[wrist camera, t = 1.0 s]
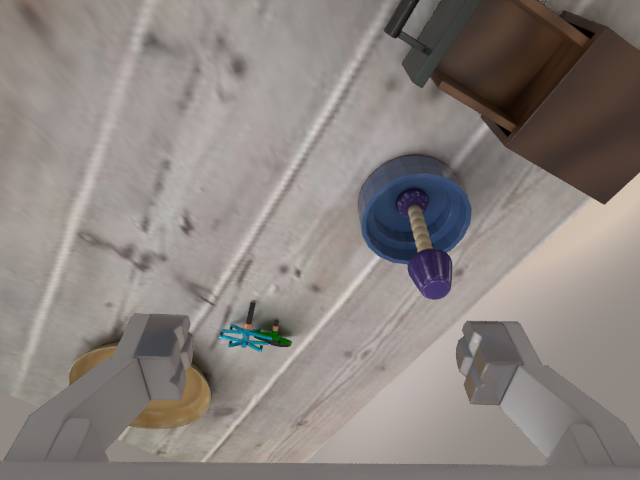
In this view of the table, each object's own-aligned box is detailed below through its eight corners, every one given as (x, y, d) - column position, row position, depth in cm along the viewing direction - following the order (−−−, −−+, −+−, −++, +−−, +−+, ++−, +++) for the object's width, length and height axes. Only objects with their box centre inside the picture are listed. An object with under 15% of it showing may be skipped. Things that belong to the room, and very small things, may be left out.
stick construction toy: (211, 337, 69) (225, 354, 62) (220, 294, 69) (235, 306, 62) (279, 341, 75) (299, 358, 68) (288, 302, 75) (308, 314, 68)
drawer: (366, 43, 45) (373, 59, 40) (435, -78, 39) (453, -77, 34) (498, 122, 50) (519, 145, 45) (576, 27, 44) (610, 41, 39)
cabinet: (480, 117, 51) (504, 146, 44) (563, 10, 44) (607, 26, 38) (570, 170, 55) (604, 205, 48) (658, 80, 48) (712, 106, 42)
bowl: (395, 136, 52) (402, 154, 48) (481, 182, 56) (494, 203, 52) (339, 218, 59) (341, 240, 55) (419, 254, 63) (426, 277, 59)
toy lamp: (405, 223, 59) (431, 313, 46) (383, 201, 57) (404, 289, 44) (434, 202, 57) (471, 290, 44) (413, 179, 55) (445, 264, 42)
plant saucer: (124, 423, 87) (118, 439, 85) (45, 348, 74) (35, 364, 71) (235, 401, 83) (233, 417, 81) (174, 317, 70) (169, 333, 67)
